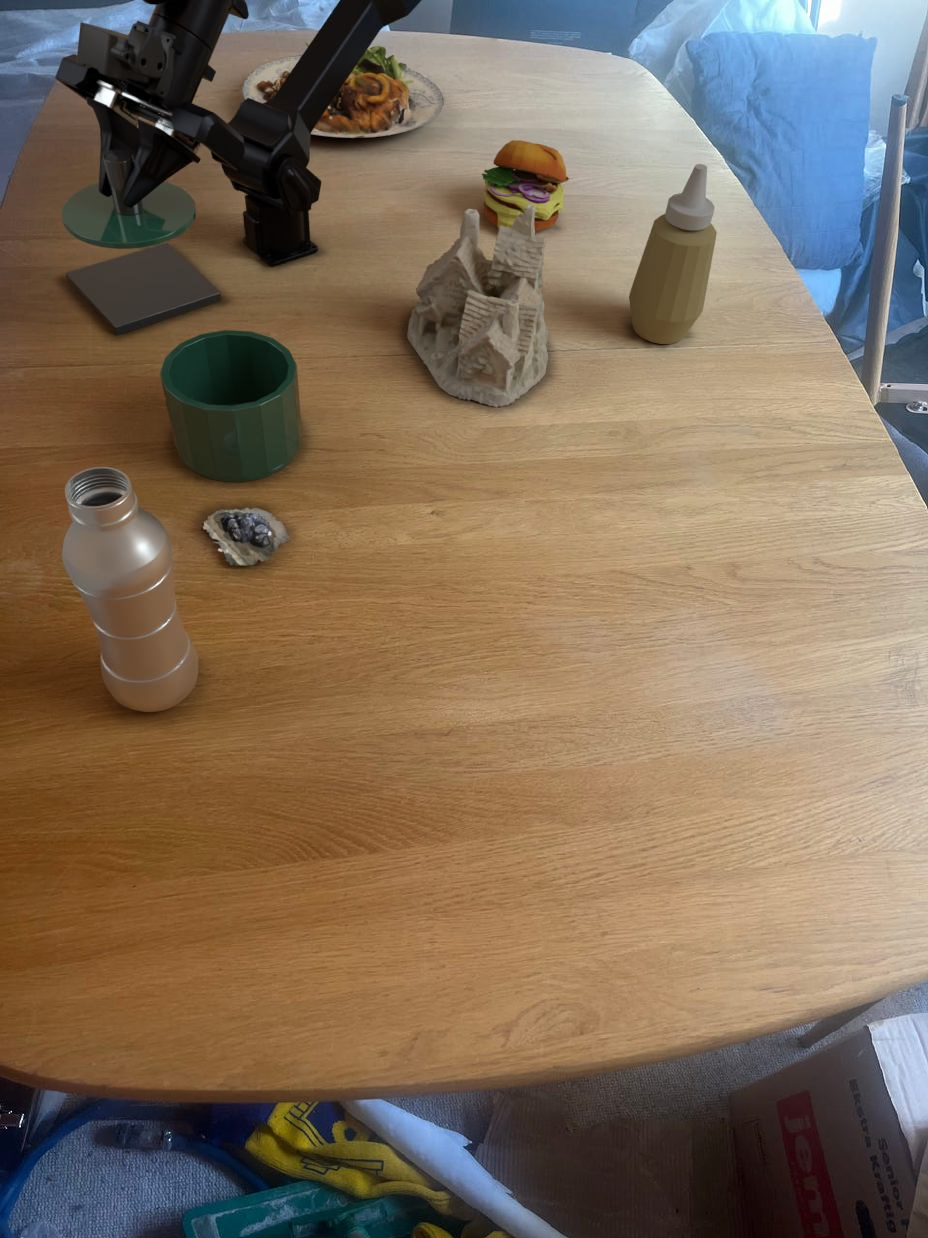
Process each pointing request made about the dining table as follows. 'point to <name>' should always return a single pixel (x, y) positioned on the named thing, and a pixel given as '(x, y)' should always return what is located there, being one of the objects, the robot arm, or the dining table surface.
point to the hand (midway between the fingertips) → (114, 200)
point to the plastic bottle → (128, 591)
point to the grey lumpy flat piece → (246, 534)
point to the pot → (233, 404)
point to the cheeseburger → (525, 184)
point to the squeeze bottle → (675, 265)
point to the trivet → (142, 288)
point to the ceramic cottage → (484, 314)
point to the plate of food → (361, 96)
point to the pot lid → (127, 210)
